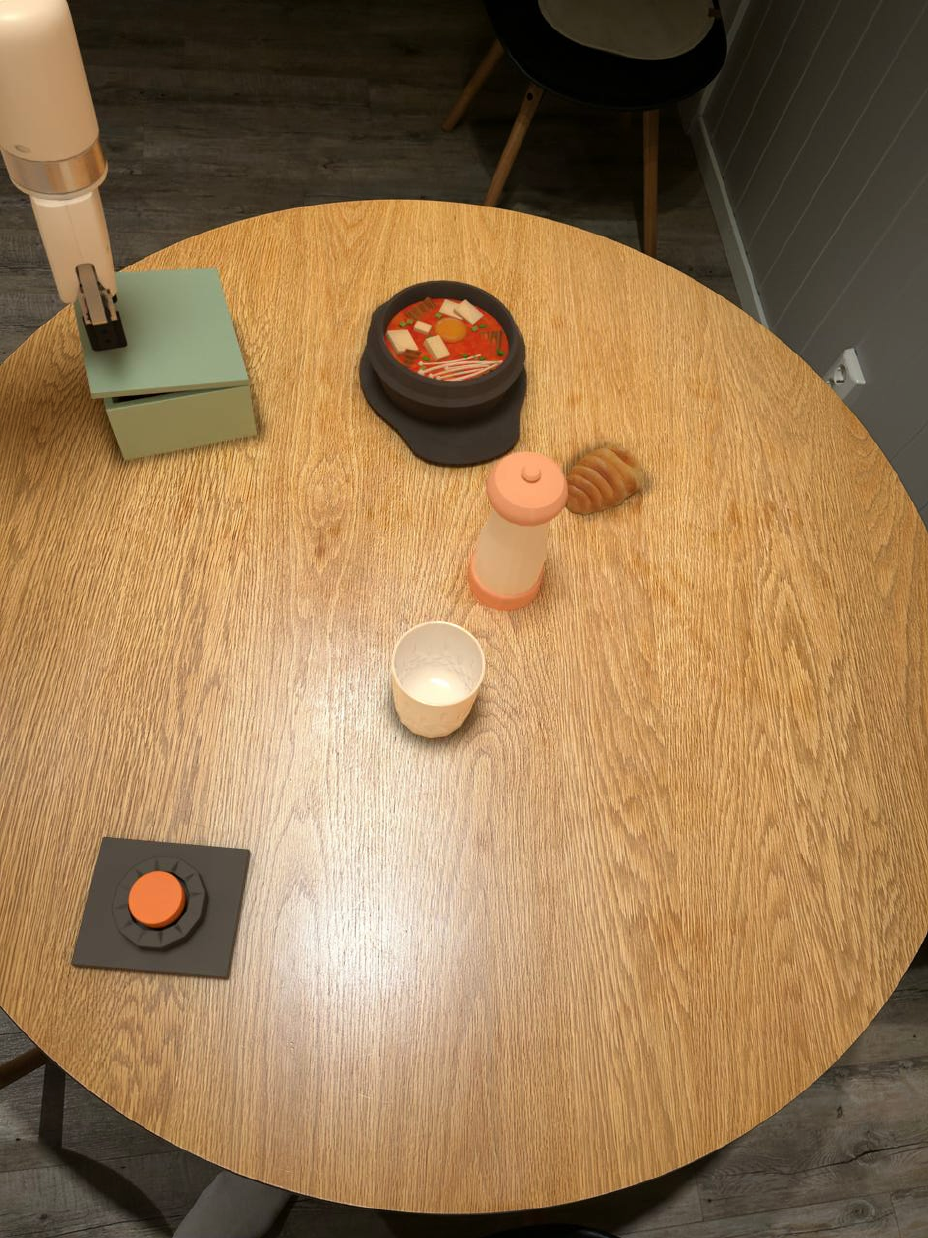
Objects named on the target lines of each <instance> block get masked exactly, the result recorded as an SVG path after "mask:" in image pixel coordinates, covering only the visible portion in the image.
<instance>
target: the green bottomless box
mask: <svg viewBox="0 0 928 1238" xmlns="http://www.w3.org/2000/svg"><path fill="white" fill-rule="evenodd" d="M120 397H121V396H118V397H106V398H103V403H104V407H105V412H106V415H107V418H108V421H109V423H110V425H111V428H112V431H113V433H114V436H115V439H116V442H117V445H118V447H119V451H120V453H121V455H122V458H123V460H124V461H130V460H135V459H141V458H145V457H151V456H156V455H161V454H166V453H173V452H177V451H183V450H187V449H192V448H197V447H203V446H209V445H212V444H218V443H219V444H220V443H224V442H228V441H234V440H238V439H239V440H240V439H243V438H249V437H255V436H258V431H257V424H256V423H257V422H256V418H255V412H254V406H253V400H252V399H253V398H252V393H251V386H250V384H249V385H242V386H230V387H219V388H208V389H196V390H185V391H175V392H170V393H166V394H160V395H154V396H149V397H144V398H138V399H132V400H127V401H121V398H120Z"/></svg>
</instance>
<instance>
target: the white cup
mask: <svg viewBox="0 0 928 1238" xmlns="http://www.w3.org/2000/svg"><path fill="white" fill-rule="evenodd" d="M390 661H391V663H390V664H391V683H392V685H391V686H392V695H393V701H394V708H395V710H396V714H397V716H398V719H399V721H400V723H401V724H402V725H404V726H405V728H407V729H408V730H409V731H410V732H411V733H413V734H414V735H417V736H420V737H424V738H428V739H434V738H440V737H441V738H442V737H447V736H449V735H451V734H452V733H453V732H456V730H458V729H459V728H461V727H462V725H463V723H464V722H465V720H466V719H467V717H468V716H469V714H470V712H471V710H472V707H473V705H474V703H475V701H476V699H477V696H478V693H479V691H480V688H481V685H482V683H483V680H484V677H485V674H486V667H487V666H486V665H487V664H486V656H485V653H484V650H483V647H482V646H481V644H480V642H479V640H477V638H476V637H475V636H474V635H473V634H472V633H471V632H470V631H469V630H467V629H466V628H464V627H462V626H460V625H458V624H455V623H453V622H449V621H444V620H430V621H425V622H422V623H419V624H416V625H414V626H412V627H410V628H409V629H407V631H405V632H404V633H403V634H402V635H401V636H400V637H399V639H398V640H397V642H396V643H395V645H394V648H393V650H392V654H391V660H390Z"/></svg>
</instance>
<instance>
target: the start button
mask: <svg viewBox="0 0 928 1238" xmlns="http://www.w3.org/2000/svg"><path fill="white" fill-rule="evenodd" d="M128 902H129V908H130V911H131V913H132V915H133V916H134V917H135V918H136V919H137V920H138V921H140V922H141V923H142V924H144V925H146V926H148V927H152V928H160V927H165V926H167V925H169V924H171V923H173V922H174V921H175V920H176V919H177V918H178V917H179V916H180V914H181V913H182V911H183V909H184V906H185V902H186V895H185V891H184V888H183V886H182V885H181V884H180V882H179V881H178V880H177V879H176V878H175V877H174V876H173V875H171V874H170V873H167V872H164V871H154V872H150V873H147V874H145V875H144V876H142V877H141V878H139V879H138V880H137V881H136V882H135V884H134V885H133V887H132V889H131V891H130V894H129V901H128Z"/></svg>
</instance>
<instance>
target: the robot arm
mask: <svg viewBox="0 0 928 1238" xmlns="http://www.w3.org/2000/svg"><path fill="white" fill-rule="evenodd" d="M0 154H1V155H2V159H3V161H4V164H5V167H6V170H7V173H8V175H9V179H10V180H11V182H12V184H13V185H14V186H15V187H16V188H17V189H18V190H19V191H21V192H22V193H24V194H26V195H28V196H29V200H30V201H29V202H30V204H31V208H32V212H33V215H34V218H35V222H36V225H37V228H38V232H39V235H40V237H41V241H42V244H43V248H44V251H45V254H46V257H47V260H48V263H49V266H50V270H51V273H52V276H53V279H54V282H55V285H56V289H57V292H58V296H59V299H60V300H61V302H63V303H64V304H70V303H71V304H72V303H73V302H76V299H77V297H78V299H79V302H80V306H81V309H82V312H83V316H82V319H83V323H84V326H85V329H86V332H87V335H88V338H89V341H90V344H91V347H92V350H93V351H95V352H98V351H105V350H111V349H118V348H124V347H126V346H127V340H126V336H125V333H124V329H123V326H122V322H121V318H120V315H119V311H115V308H114V304H115V303H116V302H117V296H116V292H117V287H116V280H115V272H116V271H115V267H114V260H113V253H112V247H111V241H110V235H109V231H108V230H109V229H108V227H107V222H106V221H107V220H106V216H105V211H104V207H103V202H102V199H101V195H100V190H99V188H98V187H100V186H101V185H102V183H103V182H104V181H105V180H106V178H107V175H108V172H109V164H108V160H107V156H106V151H105V148H104V144H103V139H102V136H101V132H100V127H99V123H98V119H97V116H96V111H95V107H94V103H93V99H92V94H91V91H90V87H89V82H88V79H87V75H86V71H85V66H84V62H83V58H82V54H81V50H80V46H79V42H78V39H77V34H76V30H75V26H74V22H73V18H72V14H71V10H70V8H69V3H68V1H67V0H0ZM97 282H100V285H98V284H97ZM101 296H105V299H106V302H107V306H108V307H103V303H102V300H101Z"/></svg>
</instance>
